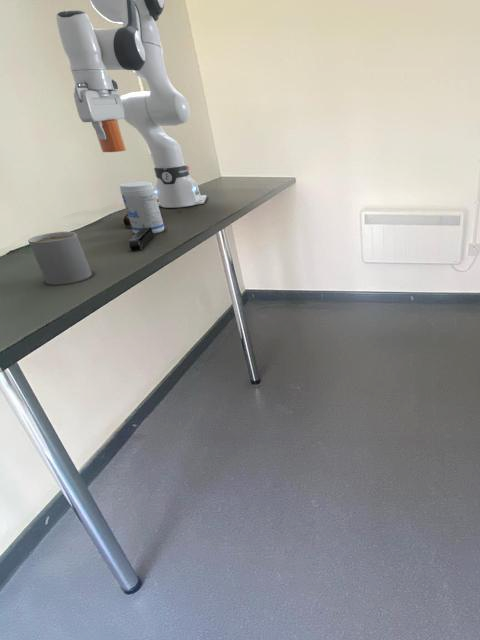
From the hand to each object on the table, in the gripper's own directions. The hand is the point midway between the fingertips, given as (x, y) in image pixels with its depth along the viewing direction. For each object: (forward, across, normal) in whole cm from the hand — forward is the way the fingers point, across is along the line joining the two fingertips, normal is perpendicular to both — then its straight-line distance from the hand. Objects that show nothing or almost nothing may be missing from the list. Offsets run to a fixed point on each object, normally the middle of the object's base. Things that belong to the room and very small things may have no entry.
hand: (110, 138), depth 144 cm
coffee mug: (+28, -45, -2) cm, 52 cm away
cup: (+3, 0, 0) cm, 3 cm away
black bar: (+27, -15, -8) cm, 32 cm away
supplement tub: (+27, -1, -4) cm, 28 cm away
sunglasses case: (+27, +16, +6) cm, 32 cm away
